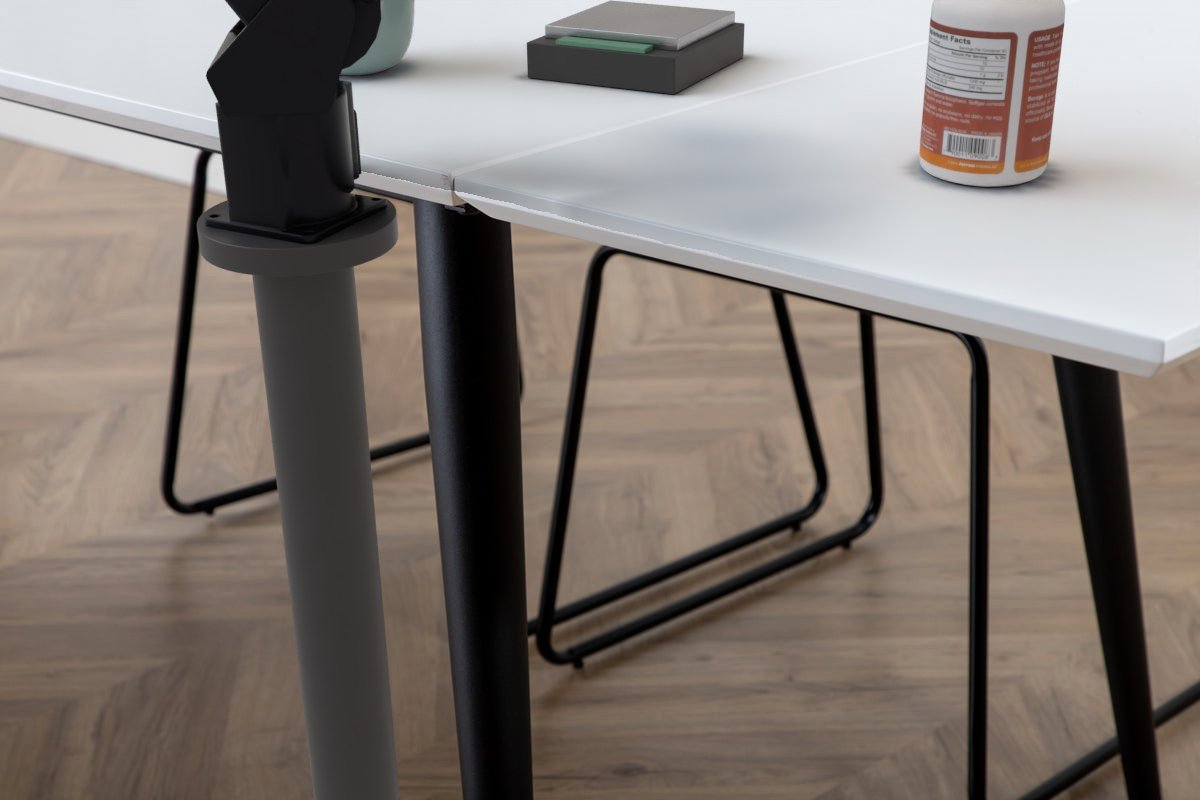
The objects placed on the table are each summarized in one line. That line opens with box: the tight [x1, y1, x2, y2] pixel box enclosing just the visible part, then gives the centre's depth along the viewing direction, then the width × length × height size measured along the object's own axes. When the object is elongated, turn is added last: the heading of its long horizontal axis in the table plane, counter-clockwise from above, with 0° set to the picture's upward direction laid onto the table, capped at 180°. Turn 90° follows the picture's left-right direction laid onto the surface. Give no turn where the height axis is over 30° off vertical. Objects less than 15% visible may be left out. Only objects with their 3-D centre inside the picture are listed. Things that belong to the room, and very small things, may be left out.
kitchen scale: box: [526, 0, 745, 95], centre depth 92 cm, size 11×10×3 cm
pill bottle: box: [918, 0, 1066, 188], centre depth 70 cm, size 6×6×11 cm
